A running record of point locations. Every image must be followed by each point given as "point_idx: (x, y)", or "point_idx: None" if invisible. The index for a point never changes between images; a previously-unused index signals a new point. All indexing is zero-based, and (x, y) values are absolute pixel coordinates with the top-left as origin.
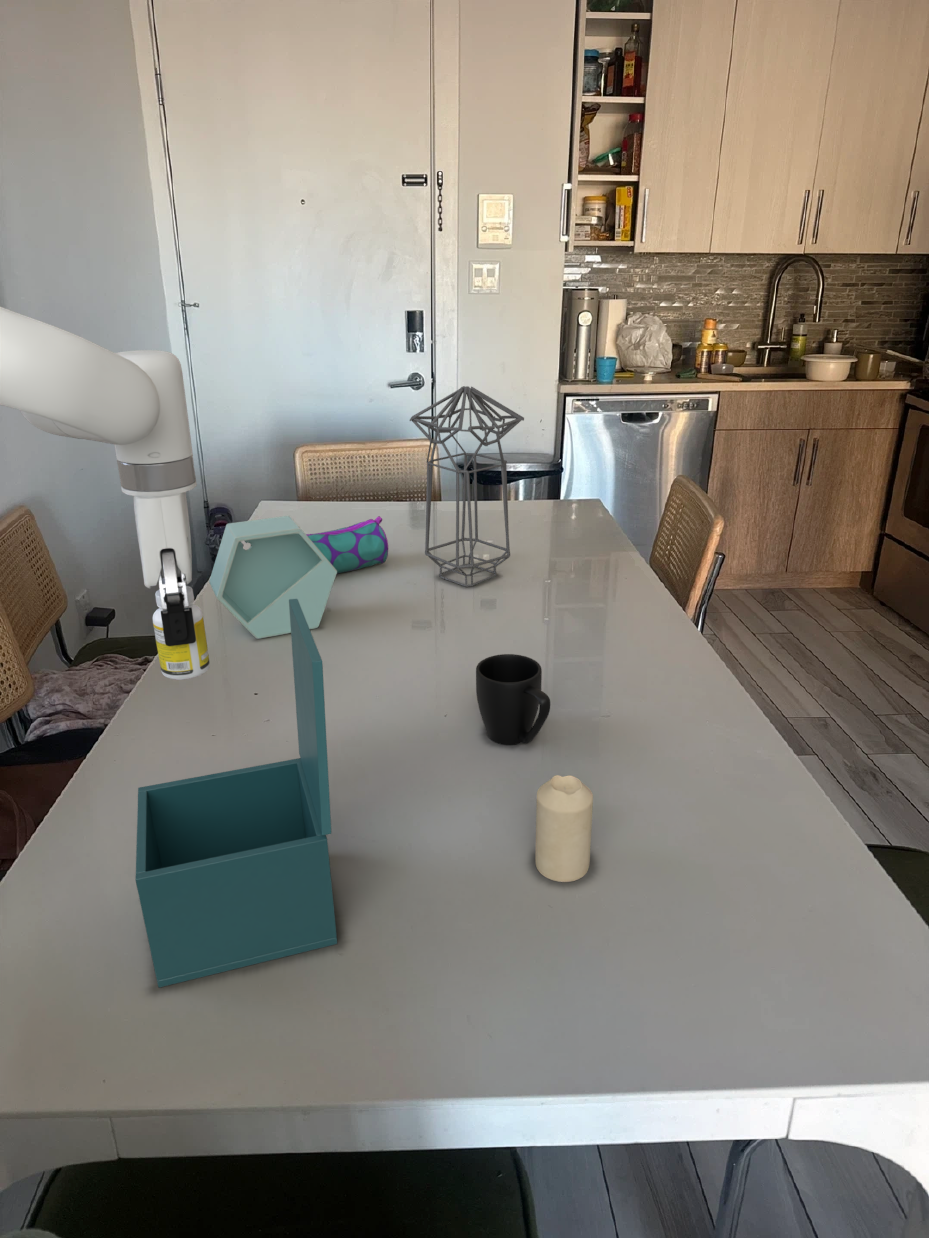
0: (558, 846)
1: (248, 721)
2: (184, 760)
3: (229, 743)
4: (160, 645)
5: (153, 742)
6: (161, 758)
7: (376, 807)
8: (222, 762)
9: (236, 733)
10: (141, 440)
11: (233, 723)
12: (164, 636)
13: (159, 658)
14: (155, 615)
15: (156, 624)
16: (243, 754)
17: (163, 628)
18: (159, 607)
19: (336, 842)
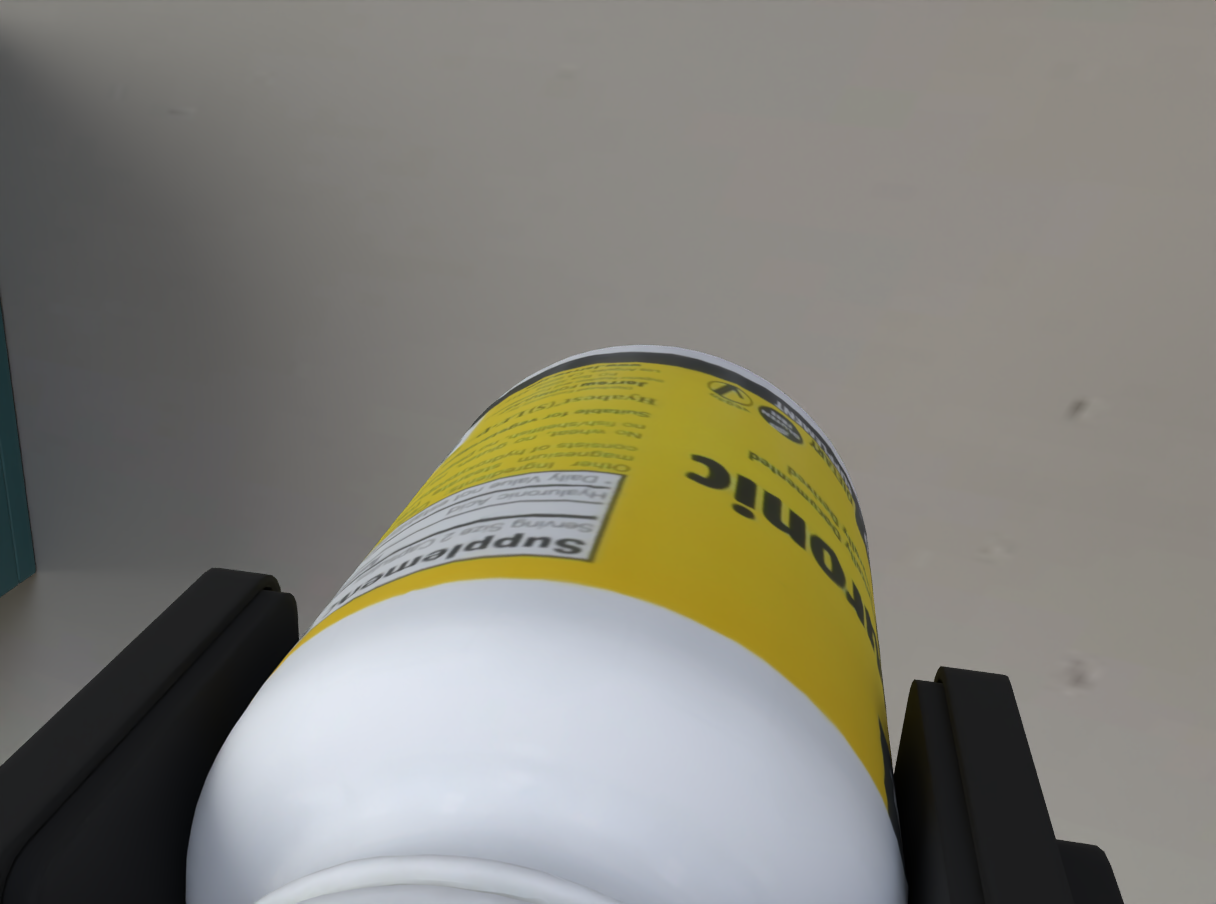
0: None
1: (1125, 594)
2: (889, 226)
3: (945, 464)
4: (446, 488)
5: (1192, 78)
6: (974, 109)
7: None
8: None
9: (1030, 515)
10: None
11: (1150, 524)
12: (160, 621)
13: (572, 394)
14: (433, 698)
15: (356, 620)
16: None
17: (86, 689)
18: (326, 871)
19: (76, 651)
